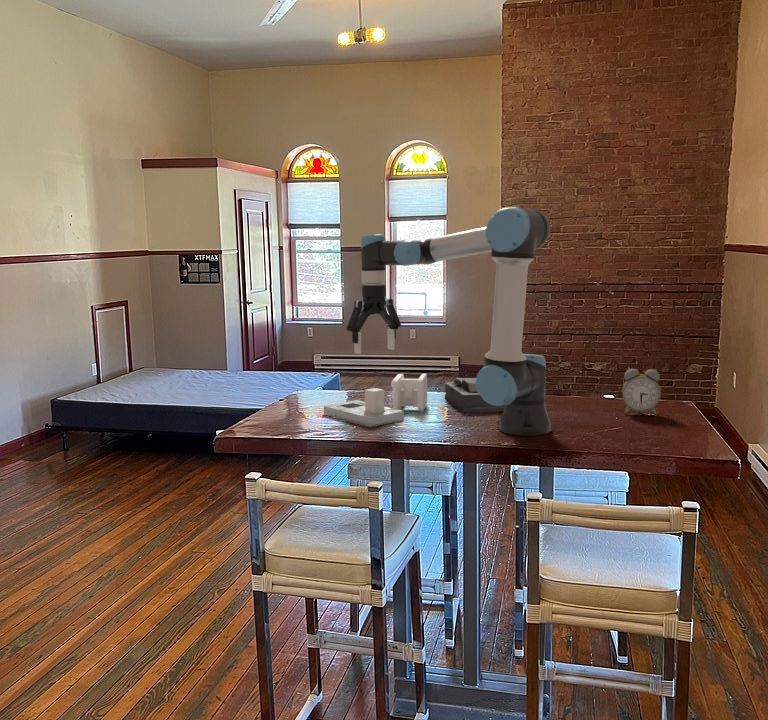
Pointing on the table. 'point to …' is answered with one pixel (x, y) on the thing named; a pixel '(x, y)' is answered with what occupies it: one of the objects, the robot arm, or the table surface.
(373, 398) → the plug
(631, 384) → the alarm clock
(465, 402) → the dark grey tray
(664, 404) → the table surface
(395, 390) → the cable organizer
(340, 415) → the panel
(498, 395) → the robot arm
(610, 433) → the table surface
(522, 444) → the table surface
